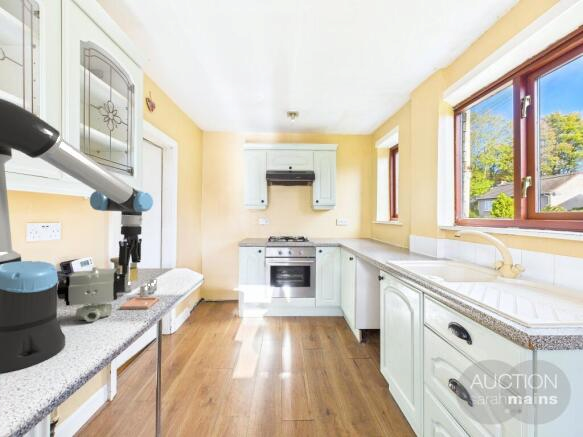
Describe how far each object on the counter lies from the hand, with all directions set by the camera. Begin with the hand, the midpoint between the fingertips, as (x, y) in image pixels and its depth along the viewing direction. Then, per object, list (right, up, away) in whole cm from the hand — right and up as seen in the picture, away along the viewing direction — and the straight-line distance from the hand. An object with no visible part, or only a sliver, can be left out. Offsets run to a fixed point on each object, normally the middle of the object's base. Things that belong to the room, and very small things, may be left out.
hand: (129, 279), depth 107 cm
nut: (0, 0, 0) cm, 0 cm away
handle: (-13, -8, +11) cm, 18 cm away
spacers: (0, -8, +5) cm, 9 cm away
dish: (+9, -8, -7) cm, 14 cm away
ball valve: (+1, -9, -21) cm, 23 cm away
